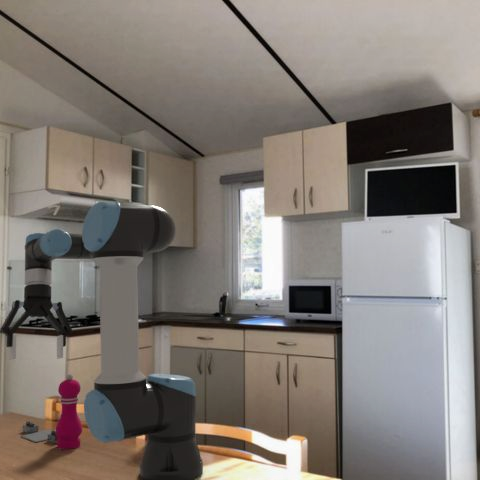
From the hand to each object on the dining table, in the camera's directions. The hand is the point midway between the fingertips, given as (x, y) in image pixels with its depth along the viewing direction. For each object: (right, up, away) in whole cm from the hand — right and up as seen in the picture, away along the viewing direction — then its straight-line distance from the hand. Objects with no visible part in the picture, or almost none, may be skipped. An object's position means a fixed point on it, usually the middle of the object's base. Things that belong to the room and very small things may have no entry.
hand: (36, 358), depth 158 cm
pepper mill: (+10, -24, -3) cm, 26 cm away
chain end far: (-6, -25, +12) cm, 29 cm away
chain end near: (+5, -24, +2) cm, 25 cm away
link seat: (-1, -25, +7) cm, 26 cm away
